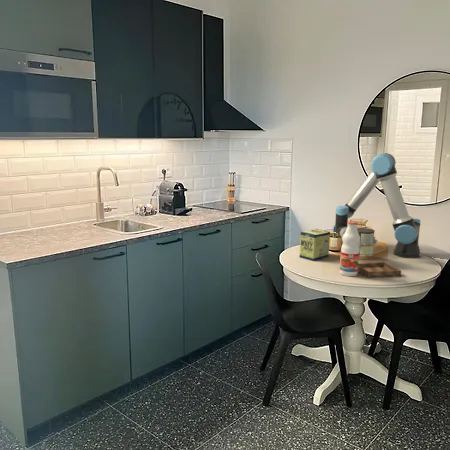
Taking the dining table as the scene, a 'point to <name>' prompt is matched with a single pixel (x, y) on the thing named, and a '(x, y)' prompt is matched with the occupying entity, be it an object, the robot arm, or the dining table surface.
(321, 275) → the dining table surface
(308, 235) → the protein box
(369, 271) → the tray
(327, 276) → the dining table surface
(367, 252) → the coffee can
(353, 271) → the fruit juice
